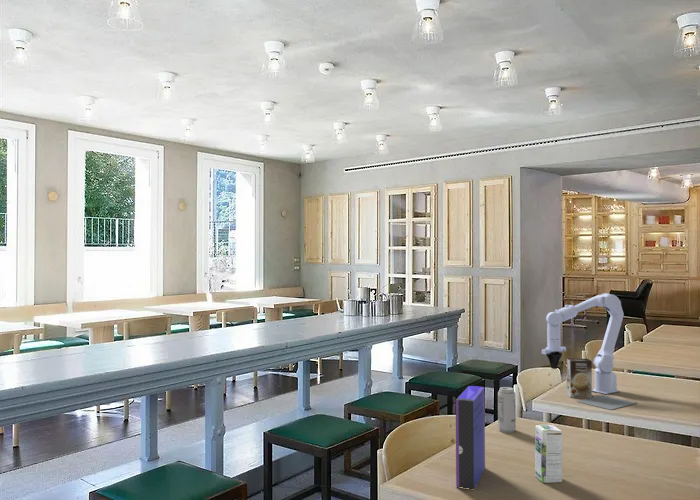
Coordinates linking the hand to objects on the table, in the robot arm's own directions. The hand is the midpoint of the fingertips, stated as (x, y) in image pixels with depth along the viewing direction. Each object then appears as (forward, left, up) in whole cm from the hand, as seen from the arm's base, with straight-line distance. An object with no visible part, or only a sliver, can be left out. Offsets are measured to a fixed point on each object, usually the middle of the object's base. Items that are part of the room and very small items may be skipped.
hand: (554, 368), depth 268 cm
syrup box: (+87, +66, -10) cm, 110 cm away
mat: (0, +26, -10) cm, 28 cm away
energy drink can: (+63, +29, -10) cm, 70 cm away
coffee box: (0, +13, -10) cm, 16 cm away
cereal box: (+104, +53, -10) cm, 117 cm away
